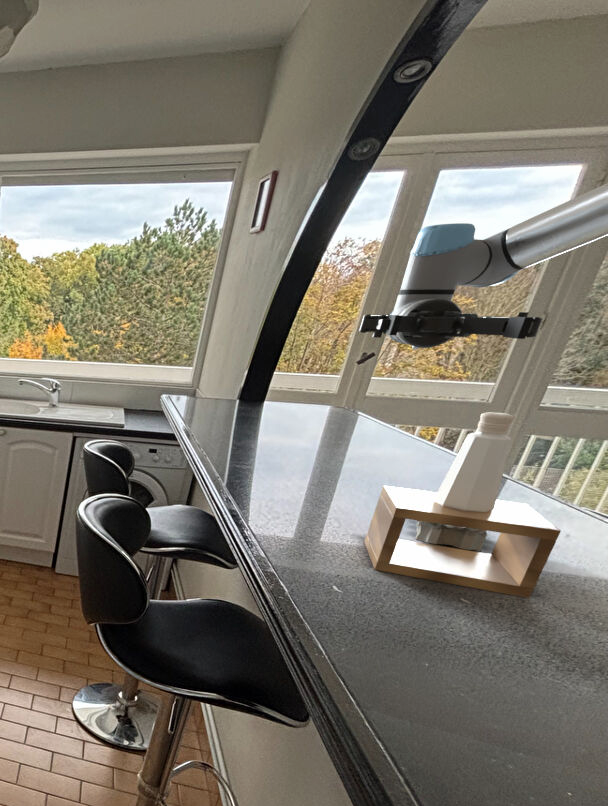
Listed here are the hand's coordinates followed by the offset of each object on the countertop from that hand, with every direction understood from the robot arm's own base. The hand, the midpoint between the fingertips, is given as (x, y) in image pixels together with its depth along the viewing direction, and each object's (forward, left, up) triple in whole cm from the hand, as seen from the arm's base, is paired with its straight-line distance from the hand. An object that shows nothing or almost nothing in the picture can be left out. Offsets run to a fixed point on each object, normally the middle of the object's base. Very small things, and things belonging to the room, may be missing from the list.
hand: (458, 326), depth 82 cm
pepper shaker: (-2, +22, -20) cm, 30 cm away
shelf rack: (-2, +22, -28) cm, 35 cm away
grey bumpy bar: (-5, +7, -28) cm, 30 cm away
